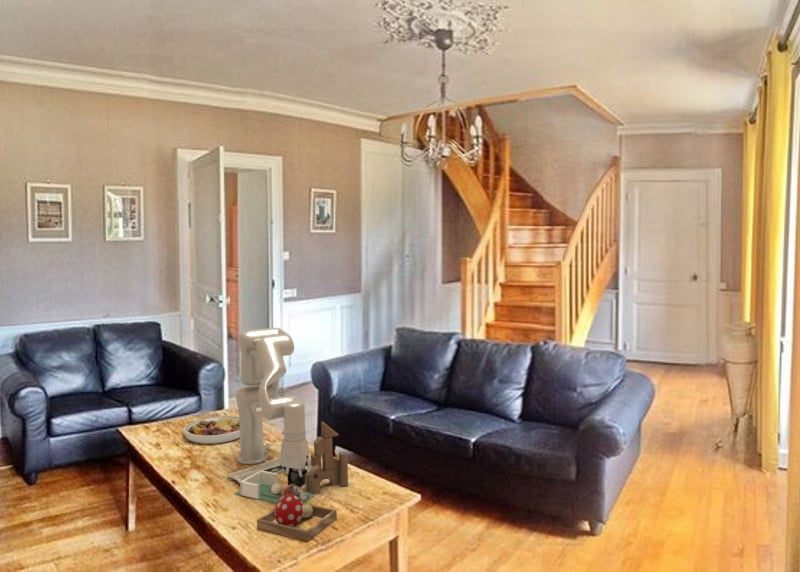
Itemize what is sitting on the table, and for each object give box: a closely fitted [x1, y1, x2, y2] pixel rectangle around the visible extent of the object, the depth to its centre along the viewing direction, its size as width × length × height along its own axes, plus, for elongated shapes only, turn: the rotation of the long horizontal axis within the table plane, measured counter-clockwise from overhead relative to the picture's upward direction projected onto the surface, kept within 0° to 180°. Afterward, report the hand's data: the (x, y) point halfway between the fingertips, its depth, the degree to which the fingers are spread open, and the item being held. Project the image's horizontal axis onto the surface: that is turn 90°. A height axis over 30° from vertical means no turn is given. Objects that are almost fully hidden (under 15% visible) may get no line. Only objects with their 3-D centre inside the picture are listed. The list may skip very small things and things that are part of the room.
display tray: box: [256, 502, 337, 542], centre depth 209 cm, size 17×20×3 cm
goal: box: [239, 470, 279, 500], centre depth 235 cm, size 12×8×5 cm, turn 154°
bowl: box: [183, 415, 240, 445], centre depth 300 cm, size 30×30×8 cm
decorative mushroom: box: [275, 494, 313, 528], centre depth 210 cm, size 11×11×15 cm
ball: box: [271, 482, 283, 495], centre depth 231 cm, size 4×4×4 cm
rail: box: [261, 487, 312, 503], centre depth 230 cm, size 6×18×1 cm, turn 64°
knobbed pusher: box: [281, 469, 307, 501], centre depth 227 cm, size 6×8×10 cm
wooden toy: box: [304, 421, 349, 495], centre depth 237 cm, size 16×7×25 cm, turn 120°
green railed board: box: [234, 484, 316, 504], centre depth 232 cm, size 11×28×1 cm, turn 64°
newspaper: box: [226, 455, 311, 484], centre depth 256 cm, size 35×12×4 cm, turn 134°
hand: (296, 484), depth 227 cm, fingers closed on knobbed pusher, 3 cm apart
